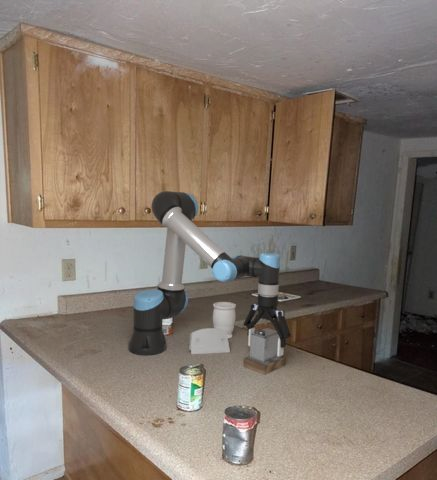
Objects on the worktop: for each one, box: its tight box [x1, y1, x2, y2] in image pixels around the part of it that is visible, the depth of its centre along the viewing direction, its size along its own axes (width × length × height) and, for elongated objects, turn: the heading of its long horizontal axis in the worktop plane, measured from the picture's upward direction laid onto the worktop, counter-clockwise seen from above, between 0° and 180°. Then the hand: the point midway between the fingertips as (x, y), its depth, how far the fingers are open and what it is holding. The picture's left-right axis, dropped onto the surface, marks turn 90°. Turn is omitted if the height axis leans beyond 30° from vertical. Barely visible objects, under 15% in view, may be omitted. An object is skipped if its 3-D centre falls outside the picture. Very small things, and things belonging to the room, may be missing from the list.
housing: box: [249, 327, 280, 363], centre depth 144 cm, size 6×10×11 cm, turn 136°
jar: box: [212, 301, 237, 340], centre depth 175 cm, size 11×10×15 cm
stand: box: [242, 355, 287, 376], centre depth 144 cm, size 13×10×3 cm
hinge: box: [188, 327, 231, 355], centre depth 158 cm, size 17×5×10 cm, turn 103°
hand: (265, 350), depth 144 cm, fingers open, 13 cm apart
